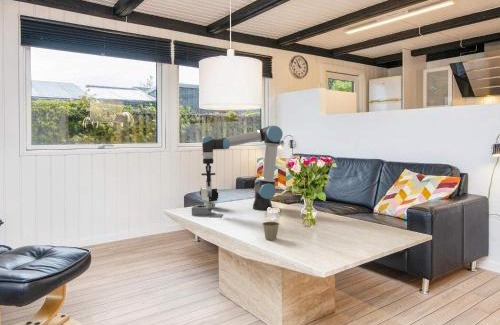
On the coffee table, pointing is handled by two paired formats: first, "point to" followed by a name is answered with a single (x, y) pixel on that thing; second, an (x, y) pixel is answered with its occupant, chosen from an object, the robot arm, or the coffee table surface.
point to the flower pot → (270, 230)
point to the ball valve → (204, 197)
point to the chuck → (201, 210)
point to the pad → (216, 215)
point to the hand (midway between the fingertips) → (209, 190)
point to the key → (209, 193)
